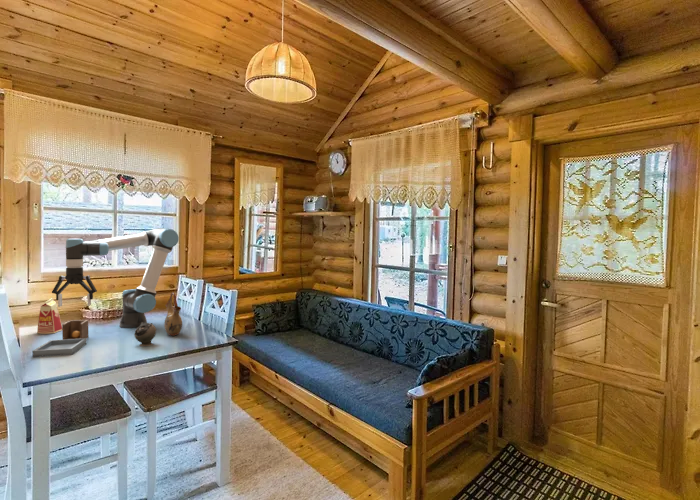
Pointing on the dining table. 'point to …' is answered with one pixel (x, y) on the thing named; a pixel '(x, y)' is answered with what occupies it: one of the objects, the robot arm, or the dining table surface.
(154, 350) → the dining table surface
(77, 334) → the ball
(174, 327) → the ceramic vessel
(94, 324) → the dining table surface
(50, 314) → the milk carton
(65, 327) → the brown open box
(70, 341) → the tray
